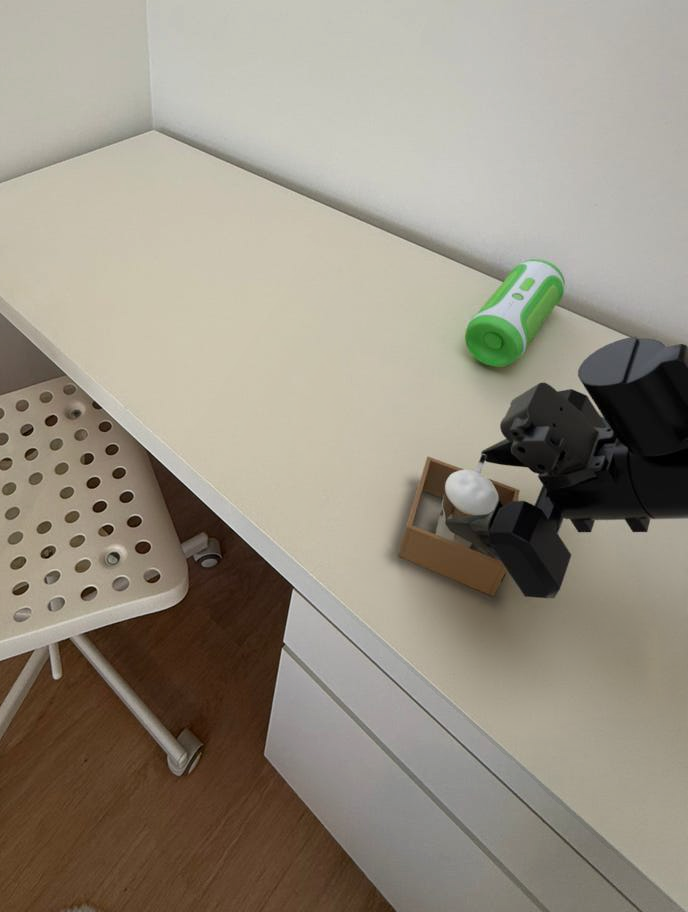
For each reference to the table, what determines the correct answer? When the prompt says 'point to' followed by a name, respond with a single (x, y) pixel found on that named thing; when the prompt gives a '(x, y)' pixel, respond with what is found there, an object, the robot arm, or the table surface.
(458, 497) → the milkshake
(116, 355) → the table surface
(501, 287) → the speaker
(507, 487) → the carton
